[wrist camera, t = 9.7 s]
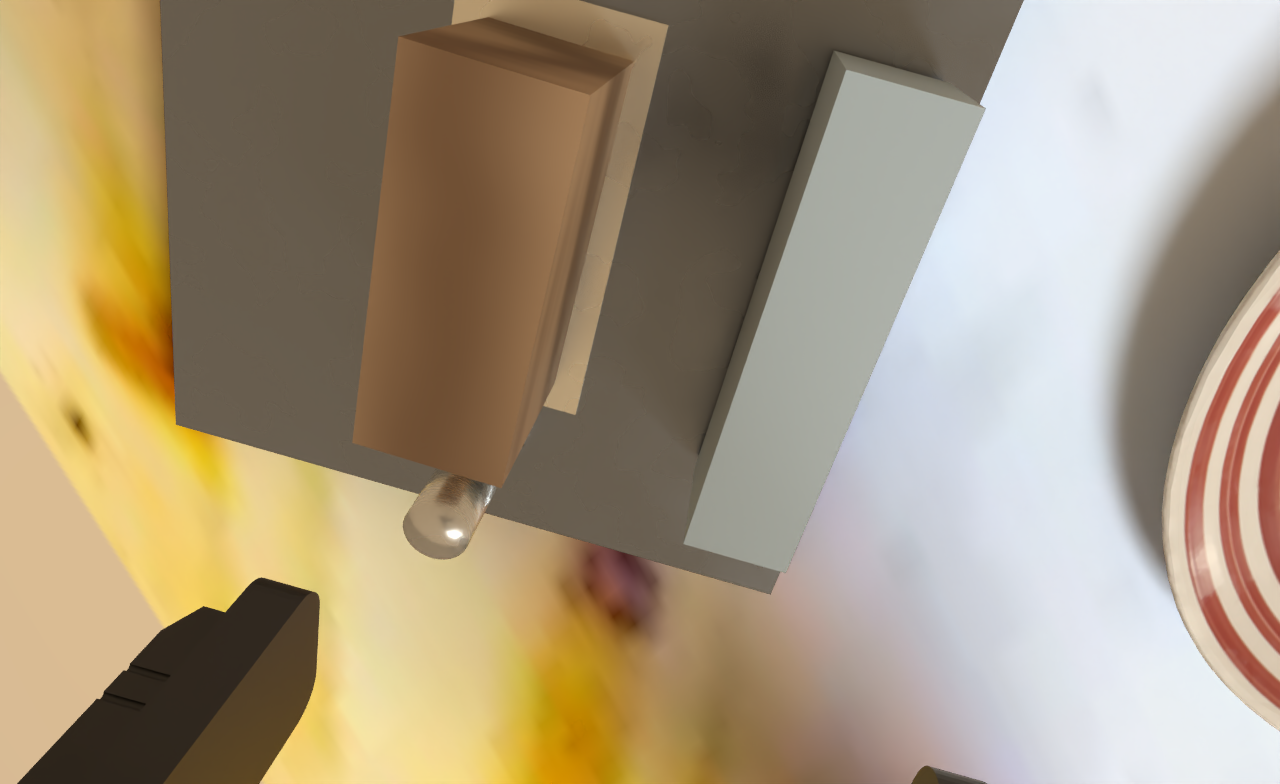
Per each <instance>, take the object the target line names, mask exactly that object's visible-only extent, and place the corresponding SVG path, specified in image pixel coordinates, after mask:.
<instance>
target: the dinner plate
mask: <svg viewBox="0 0 1280 784" xmlns="http://www.w3.org/2000/svg"><path fill="white" fill-rule="evenodd" d="M1162 536H1163V549H1164V556H1165V562H1166V569H1167V574H1168V579H1169V583H1170V586H1171V590H1172V593H1173V596H1174V600H1175V603H1176V607H1177V609H1178V611H1179V614H1180V616H1181V618H1182V621H1183V623H1184V625H1185V627H1186V629H1187V631H1188V633H1189V634H1190V636H1191V638H1192V640H1193V642H1194V643H1195V645H1196V647H1197V649H1198V650H1199V652H1200V653H1201V655H1202V656H1203V658H1204V659H1205V661H1206V662H1207V664H1208V665H1209V666H1210V668H1211V669H1212V670H1213V671H1214V672H1215V674H1216V675H1217V676H1218V677H1219V678H1220V679H1221V681H1222V682H1223V683H1224V684H1225V685H1226V686H1227V687H1228V688H1229V689H1230V690H1231V691H1232V692H1233V693H1234V694H1235V695H1236V696H1237V697H1238V698H1239V699H1240V700H1241V701H1242V702H1243V703H1244V704H1245V705H1246V706H1248V707H1249V708H1250V709H1251V710H1253V711H1254V712H1255V713H1256V714H1258V715H1259V716H1260V717H1261V718H1263V719H1264V720H1265V721H1266V722H1268V723H1269V724H1270V725H1271V726H1273V727H1274V728H1276V729H1277V730H1279V731H1280V250H1279V251H1278V253H1277V254H1276V255H1275V256H1274V258H1273V259H1272V260H1271V261H1270V263H1269V264H1268V265H1267V267H1266V268H1265V269H1264V271H1263V272H1262V273H1261V275H1260V276H1259V277H1258V279H1257V280H1256V281H1255V283H1254V284H1253V285H1252V287H1251V288H1250V290H1249V291H1248V292H1247V294H1246V295H1245V296H1244V298H1243V299H1242V301H1241V303H1240V304H1239V306H1238V307H1237V309H1236V310H1235V312H1234V313H1233V315H1232V316H1231V318H1230V319H1229V321H1228V322H1227V324H1226V326H1225V327H1224V329H1223V330H1222V332H1221V334H1220V335H1219V337H1218V339H1217V341H1216V343H1215V345H1214V347H1213V348H1212V350H1211V352H1210V354H1209V356H1208V358H1207V360H1206V362H1205V364H1204V366H1203V368H1202V370H1201V372H1200V374H1199V376H1198V378H1197V381H1196V383H1195V385H1194V387H1193V390H1192V392H1191V394H1190V397H1189V399H1188V402H1187V404H1186V407H1185V409H1184V412H1183V414H1182V417H1181V420H1180V423H1179V426H1178V430H1177V433H1176V436H1175V439H1174V443H1173V447H1172V450H1171V454H1170V458H1169V463H1168V468H1167V473H1166V479H1165V484H1164V494H1163V505H1162Z"/></svg>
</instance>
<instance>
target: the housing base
mask: <svg viewBox="0 0 1280 784" xmlns="http://www.w3.org/2000/svg"><path fill="white" fill-rule="evenodd" d="M1023 1H1024V0H160V9H161V36H162V63H163V90H164V116H165V143H166V170H167V197H168V223H169V250H170V277H171V304H172V330H173V357H174V384H175V411H176V425H179V426H183V427H186V428H190V429H193V430H197V431H200V432H204V433H207V434H211V435H214V436H218V437H221V438H225V439H228V440H232V441H235V442H239V443H242V444H246V445H249V446H253V447H256V448H260V449H263V450H267V451H270V452H274V453H277V454H281V455H284V456H288V457H291V458H295V459H298V460H302V461H305V462H309V463H312V464H316V465H319V466H323V467H326V468H330V469H333V470H337V471H340V472H344V473H347V474H351V475H354V476H358V477H361V478H365V479H368V480H372V481H375V482H379V483H382V484H386V485H389V486H393V487H396V488H400V489H403V490H407V491H410V492H414V493H417V494H419V496H418V497H417V499H416V500H415V502H414V504H413V505H412V507H411V508H410V510H409V511H408V513H407V514H406V516H405V518H404V521H403V530H404V534H405V536H406V538H407V540H408V541H409V543H410V544H411V545H412V546H413V547H414V548H415V549H416V550H417V551H419V552H420V553H422V554H424V555H426V556H428V557H431V558H435V559H451V558H454V557H457V556H459V555H460V554H461V553H463V552H464V550H465V549H466V547H467V546H468V544H469V542H470V540H471V538H472V536H473V534H474V532H475V530H476V528H477V526H478V524H479V522H480V520H481V518H482V516H483V514H484V513H487V514H491V515H494V516H498V517H501V518H505V519H508V520H512V521H515V522H519V523H522V524H526V525H529V526H533V527H536V528H540V529H543V530H547V531H550V532H554V533H557V534H561V535H564V536H568V537H571V538H575V539H578V540H582V541H585V542H589V543H592V544H596V545H599V546H603V547H606V548H610V549H613V550H617V551H620V552H624V553H627V554H631V555H634V556H638V557H641V558H645V559H648V560H652V561H655V562H659V563H662V564H666V565H669V566H673V567H676V568H680V569H683V570H687V571H690V572H694V573H697V574H701V575H704V576H708V577H711V578H715V579H718V580H722V581H725V582H729V583H732V584H736V585H739V586H743V587H746V588H750V589H753V590H757V591H760V592H764V593H767V594H771V592H772V590H773V587H774V585H775V583H776V580H777V578H778V576H779V573H780V571H776V570H773V569H769V568H766V567H762V566H759V565H755V564H752V563H748V562H745V561H741V560H738V559H734V558H731V557H727V556H724V555H720V554H717V553H713V552H710V551H706V550H703V549H699V548H696V547H692V546H689V545H685V544H683V543H684V536H685V530H686V523H687V516H688V510H689V503H690V497H691V490H692V483H693V477H694V470H695V466H696V463H697V460H698V457H699V454H700V451H701V448H702V445H703V442H704V439H705V436H706V433H707V430H708V427H709V424H710V421H711V418H712V415H713V412H714V409H715V406H716V403H717V400H718V397H719V394H720V391H721V388H722V385H723V382H724V379H725V376H726V373H727V370H728V367H729V364H730V361H731V358H732V355H733V352H734V349H735V346H736V343H737V340H738V337H739V334H740V331H741V328H742V325H743V322H744V319H745V316H746V313H747V310H748V307H749V304H750V301H751V298H752V295H753V292H754V289H755V286H756V283H757V280H758V277H759V274H760V271H761V268H762V265H763V262H764V259H765V256H766V253H767V250H768V247H769V244H770V240H771V237H772V234H773V231H774V228H775V225H776V222H777V219H778V216H779V213H780V210H781V207H782V204H783V201H784V198H785V195H786V192H787V189H788V186H789V183H790V180H791V177H792V174H793V171H794V168H795V165H796V162H797V159H798V156H799V153H800V150H801V147H802V144H803V141H804V138H805V135H806V132H807V129H808V126H809V123H810V120H811V117H812V114H813V111H814V108H815V105H816V102H817V99H818V96H819V93H820V90H821V87H822V84H823V81H824V78H825V75H826V72H827V69H828V66H829V63H830V60H831V57H832V54H833V51H838V52H841V53H845V54H848V55H852V56H856V57H859V58H863V59H866V60H870V61H874V62H877V63H881V64H884V65H888V66H891V67H895V68H899V69H902V70H906V71H909V72H913V73H916V74H920V75H924V76H927V77H931V78H934V79H938V80H941V81H945V82H949V83H951V84H952V85H953V86H955V87H956V88H958V89H959V90H960V91H962V92H963V93H965V94H966V95H967V96H969V97H970V98H972V99H973V100H974V101H976V102H977V103H979V104H980V102H981V99H982V97H983V94H984V92H985V90H986V87H987V85H988V83H989V80H990V78H991V76H992V73H993V71H994V69H995V66H996V64H997V62H998V59H999V57H1000V55H1001V52H1002V50H1003V48H1004V45H1005V43H1006V40H1007V38H1008V36H1009V33H1010V31H1011V29H1012V26H1013V24H1014V22H1015V19H1016V17H1017V15H1018V12H1019V10H1020V8H1021V5H1022V3H1023ZM486 17H490V18H493V19H496V20H499V21H503V22H506V23H509V24H513V25H516V26H519V27H522V28H526V29H529V30H532V31H535V32H539V33H542V34H545V35H548V36H552V37H555V38H558V39H562V40H565V41H568V42H571V43H575V44H578V45H581V46H584V47H588V48H591V49H594V50H597V51H601V52H604V53H607V54H611V55H614V56H617V57H620V58H624V59H627V60H630V61H633V62H634V63H633V67H632V71H631V75H630V80H629V84H628V88H627V92H626V96H625V100H624V104H623V108H622V112H621V116H620V120H619V124H618V128H617V132H616V136H615V140H614V144H613V148H612V153H611V157H610V161H609V165H608V169H607V173H606V177H605V181H604V185H603V189H602V193H601V197H600V201H599V205H598V209H597V213H596V217H595V222H594V226H593V230H592V234H591V238H590V242H589V246H588V250H587V254H586V258H585V262H584V266H583V270H582V274H581V278H580V282H579V286H578V290H577V295H576V299H575V303H574V307H573V311H572V315H571V319H570V323H569V327H568V331H567V335H566V339H565V343H564V347H563V351H562V355H561V359H560V363H559V368H558V372H557V376H556V380H555V383H554V385H553V387H552V389H551V391H550V393H549V395H548V397H547V399H546V401H545V403H544V405H543V407H542V409H541V411H540V413H539V415H538V417H537V419H536V421H535V423H534V425H533V427H532V429H531V431H530V433H529V435H528V437H527V439H526V441H525V443H524V445H523V447H522V448H521V450H520V452H519V454H518V456H517V458H516V460H515V462H514V464H513V466H512V468H511V470H510V472H509V474H508V476H507V478H506V480H505V482H504V484H503V486H502V488H499V487H496V486H492V485H489V484H486V483H483V482H479V481H476V480H473V479H469V478H466V477H463V476H460V475H456V474H453V473H450V472H446V471H443V470H440V469H437V468H433V467H430V466H427V465H424V464H420V463H417V462H414V461H410V460H407V459H404V458H401V457H397V456H394V455H391V454H387V453H384V452H381V451H378V450H374V449H371V448H368V447H365V446H361V445H358V444H355V443H352V441H353V432H354V423H355V415H356V406H357V397H358V388H359V379H360V370H361V362H362V353H363V344H364V335H365V326H366V318H367V309H368V300H369V291H370V282H371V274H372V265H373V256H374V247H375V238H376V229H377V221H378V212H379V203H380V194H381V185H382V177H383V168H384V159H385V150H386V141H387V132H388V124H389V115H390V106H391V97H392V88H393V80H394V71H395V62H396V53H397V44H398V36H403V35H408V34H412V33H417V32H422V31H426V30H431V29H435V28H440V27H445V26H449V25H454V24H458V23H463V22H468V21H472V20H477V19H481V18H486Z"/></svg>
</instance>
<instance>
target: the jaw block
mask: <svg viewBox="0 0 1280 784" xmlns="http://www.w3.org/2000/svg"><path fill="white" fill-rule="evenodd" d="M633 63H634V62H633V61H630V60H627V59H624V58H620V57H617V56H614V55H611V54H607V53H604V52H601V51H597V50H594V49H591V48H588V47H584V46H581V45H578V44H575V43H571V42H568V41H565V40H562V39H558V38H555V37H552V36H548V35H545V34H542V33H539V32H535V31H532V30H529V29H526V28H522V27H519V26H516V25H513V24H509V23H506V22H503V21H499V20H496V19H493V18H490V17H486V18H481V19H477V20H472V21H468V22H463V23H458V24H454V25H449V26H445V27H440V28H435V29H431V30H426V31H422V32H417V33H412V34H408V35H403V36H398V44H397V53H396V62H395V71H394V80H393V88H392V97H391V106H390V115H389V124H388V132H387V141H386V150H385V159H384V168H383V177H382V185H381V194H380V203H379V212H378V221H377V229H376V238H375V247H374V256H373V265H372V274H371V282H370V291H369V300H368V309H367V318H366V326H365V335H364V344H363V353H362V362H361V370H360V379H359V388H358V397H357V406H356V415H355V423H354V432H353V441H352V443H355V444H358V445H361V446H365V447H368V448H371V449H374V450H378V451H381V452H384V453H387V454H391V455H394V456H397V457H401V458H404V459H407V460H410V461H414V462H417V463H420V464H424V465H427V466H430V467H433V468H437V469H440V470H443V471H446V472H450V473H453V474H456V475H460V476H463V477H466V478H469V479H473V480H476V481H479V482H483V483H486V484H489V485H492V486H496V487H499V488H502V486H503V484H504V482H505V480H506V478H507V476H508V474H509V472H510V470H511V468H512V466H513V464H514V462H515V460H516V458H517V456H518V454H519V452H520V450H521V448H522V447H523V445H524V443H525V441H526V439H527V437H528V435H529V433H530V431H531V429H532V427H533V425H534V423H535V421H536V419H537V417H538V415H539V413H540V411H541V409H542V407H543V405H544V403H545V401H546V399H547V397H548V395H549V393H550V391H551V389H552V387H553V385H554V383H555V380H556V376H557V372H558V368H559V363H560V359H561V355H562V351H563V347H564V343H565V339H566V335H567V331H568V327H569V323H570V319H571V315H572V311H573V307H574V303H575V299H576V295H577V290H578V286H579V282H580V278H581V274H582V270H583V266H584V262H585V258H586V254H587V250H588V246H589V242H590V238H591V234H592V230H593V226H594V222H595V217H596V213H597V209H598V205H599V201H600V197H601V193H602V189H603V185H604V181H605V177H606V173H607V169H608V165H609V161H610V157H611V153H612V148H613V144H614V140H615V136H616V132H617V128H618V124H619V120H620V116H621V112H622V108H623V104H624V100H625V96H626V92H627V88H628V84H629V80H630V75H631V71H632V67H633Z"/></svg>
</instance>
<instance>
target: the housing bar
mask: <svg viewBox="0 0 1280 784" xmlns="http://www.w3.org/2000/svg"><path fill="white" fill-rule="evenodd" d="M985 109H986V108H984V107H983V106H981V105H980V104H979V103H977V102H976V101H974V100H973V99H972V98H970V97H969V96H967V95H966V94H965V93H963V92H962V91H960V90H959V89H958V88H956V87H955V86H953V85H952V84H951V83H949V82H945V81H941V80H938V79H934V78H931V77H927V76H924V75H920V74H916V73H913V72H909V71H906V70H902V69H899V68H895V67H891V66H888V65H884V64H881V63H877V62H874V61H870V60H866V59H863V58H859V57H856V56H852V55H848V54H845V53H841V52H838V51H833V54H832V57H831V60H830V63H829V66H828V69H827V72H826V75H825V78H824V81H823V84H822V87H821V90H820V93H819V96H818V99H817V102H816V105H815V108H814V111H813V114H812V117H811V120H810V123H809V126H808V129H807V132H806V135H805V138H804V141H803V144H802V147H801V150H800V153H799V156H798V159H797V162H796V165H795V168H794V171H793V174H792V177H791V180H790V183H789V186H788V189H787V192H786V195H785V198H784V201H783V204H782V207H781V210H780V213H779V216H778V219H777V222H776V225H775V228H774V231H773V234H772V237H771V240H770V244H769V247H768V250H767V253H766V256H765V259H764V262H763V265H762V268H761V271H760V274H759V277H758V280H757V283H756V286H755V289H754V292H753V295H752V298H751V301H750V304H749V307H748V310H747V313H746V316H745V319H744V322H743V325H742V328H741V331H740V334H739V337H738V340H737V343H736V346H735V349H734V352H733V355H732V358H731V361H730V364H729V367H728V370H727V373H726V376H725V379H724V382H723V385H722V388H721V391H720V394H719V397H718V400H717V403H716V406H715V409H714V412H713V415H712V418H711V421H710V424H709V427H708V430H707V433H706V436H705V439H704V442H703V445H702V448H701V451H700V454H699V457H698V460H697V463H696V466H695V470H694V477H693V483H692V490H691V497H690V503H689V510H688V516H687V523H686V530H685V536H684V543H683V544H685V545H689V546H692V547H696V548H699V549H703V550H706V551H710V552H713V553H717V554H720V555H724V556H727V557H731V558H734V559H738V560H741V561H745V562H748V563H752V564H755V565H759V566H762V567H766V568H769V569H773V570H776V571H780V572H783V573H786V571H787V569H788V567H789V564H790V562H791V560H792V557H793V555H794V553H795V550H796V548H797V546H798V543H799V541H800V539H801V537H802V534H803V532H804V530H805V527H806V525H807V523H808V520H809V518H810V516H811V513H812V511H813V509H814V506H815V504H816V502H817V499H818V497H819V495H820V492H821V490H822V488H823V485H824V483H825V481H826V478H827V476H828V474H829V472H830V469H831V467H832V465H833V462H834V460H835V458H836V455H837V453H838V451H839V448H840V446H841V444H842V441H843V439H844V437H845V434H846V432H847V430H848V427H849V425H850V423H851V420H852V418H853V416H854V413H855V411H856V409H857V407H858V404H859V402H860V400H861V397H862V395H863V393H864V390H865V388H866V386H867V383H868V381H869V379H870V376H871V374H872V372H873V369H874V367H875V365H876V362H877V360H878V358H879V355H880V353H881V351H882V348H883V346H884V344H885V342H886V339H887V337H888V335H889V332H890V330H891V328H892V325H893V323H894V321H895V318H896V316H897V314H898V311H899V309H900V307H901V304H902V302H903V300H904V297H905V295H906V293H907V290H908V288H909V286H910V283H911V281H912V279H913V276H914V274H915V272H916V270H917V267H918V265H919V263H920V260H921V258H922V256H923V253H924V251H925V249H926V246H927V244H928V242H929V239H930V237H931V235H932V232H933V230H934V228H935V225H936V223H937V221H938V218H939V216H940V214H941V211H942V209H943V207H944V205H945V202H946V200H947V198H948V195H949V193H950V191H951V188H952V186H953V184H954V181H955V179H956V177H957V174H958V172H959V170H960V167H961V165H962V163H963V160H964V158H965V156H966V153H967V151H968V149H969V146H970V144H971V142H972V140H973V137H974V135H975V133H976V130H977V128H978V126H979V123H980V121H981V119H982V116H983V114H984V112H985Z"/></svg>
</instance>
